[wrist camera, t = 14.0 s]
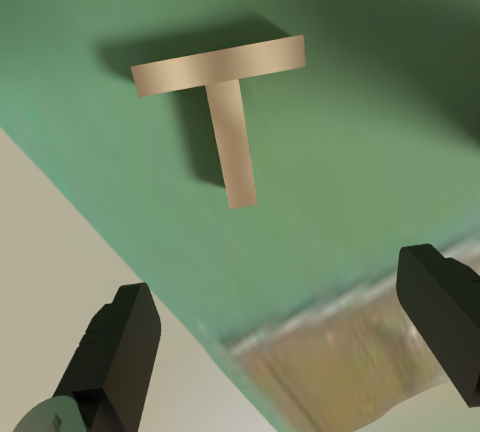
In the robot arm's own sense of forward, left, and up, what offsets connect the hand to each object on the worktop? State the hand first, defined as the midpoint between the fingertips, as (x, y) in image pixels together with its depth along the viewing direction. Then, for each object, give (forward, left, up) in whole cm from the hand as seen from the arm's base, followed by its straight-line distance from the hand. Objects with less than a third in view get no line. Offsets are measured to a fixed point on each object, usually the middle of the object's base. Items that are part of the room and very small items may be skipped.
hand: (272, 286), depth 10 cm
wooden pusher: (+1, -1, -21) cm, 21 cm away
